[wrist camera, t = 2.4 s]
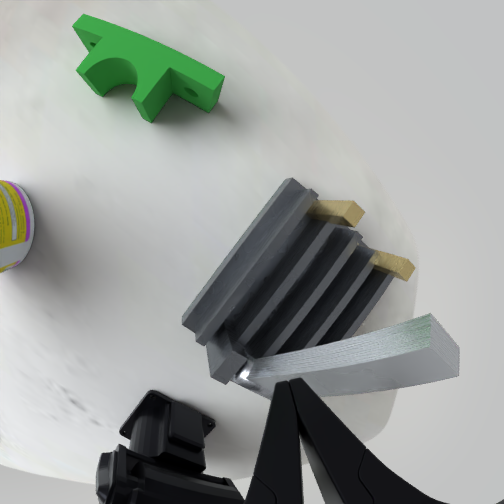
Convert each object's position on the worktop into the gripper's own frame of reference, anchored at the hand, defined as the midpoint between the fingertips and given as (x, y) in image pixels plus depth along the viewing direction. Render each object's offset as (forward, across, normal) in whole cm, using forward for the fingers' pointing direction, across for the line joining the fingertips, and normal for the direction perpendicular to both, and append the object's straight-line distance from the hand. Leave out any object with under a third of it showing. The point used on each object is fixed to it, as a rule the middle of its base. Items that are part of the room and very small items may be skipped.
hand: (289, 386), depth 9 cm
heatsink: (+12, -2, +5) cm, 13 cm away
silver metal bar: (+3, -2, +3) cm, 5 cm away
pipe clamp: (+16, +6, -12) cm, 20 cm away
